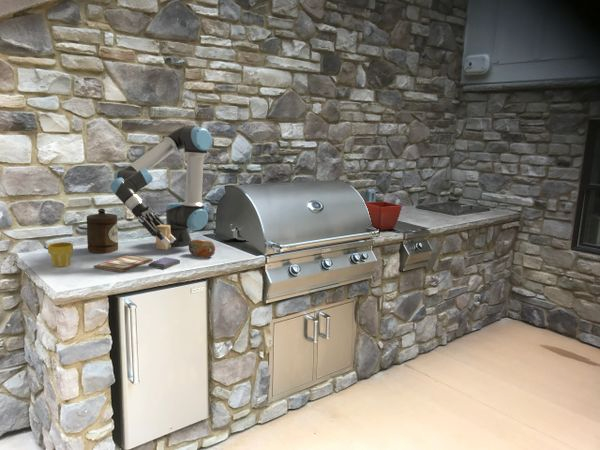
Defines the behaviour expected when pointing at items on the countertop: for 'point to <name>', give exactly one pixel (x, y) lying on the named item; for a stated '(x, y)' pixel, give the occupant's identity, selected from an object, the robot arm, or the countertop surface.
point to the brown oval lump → (202, 248)
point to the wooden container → (102, 232)
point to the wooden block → (167, 232)
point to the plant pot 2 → (383, 214)
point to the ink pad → (164, 263)
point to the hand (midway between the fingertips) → (171, 242)
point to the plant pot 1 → (60, 253)
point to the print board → (123, 263)
